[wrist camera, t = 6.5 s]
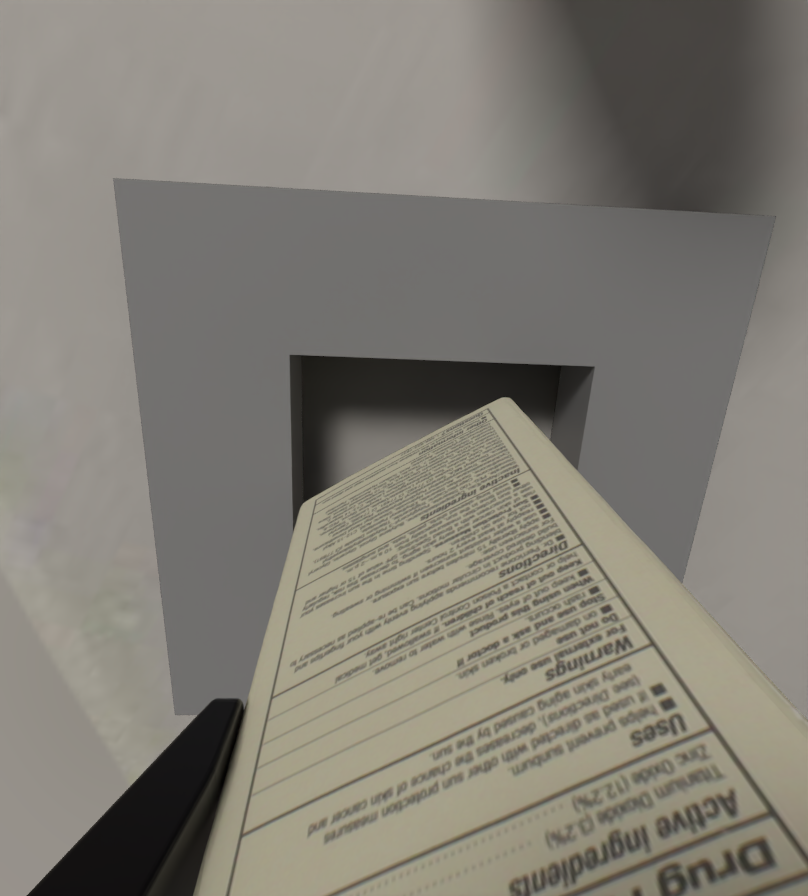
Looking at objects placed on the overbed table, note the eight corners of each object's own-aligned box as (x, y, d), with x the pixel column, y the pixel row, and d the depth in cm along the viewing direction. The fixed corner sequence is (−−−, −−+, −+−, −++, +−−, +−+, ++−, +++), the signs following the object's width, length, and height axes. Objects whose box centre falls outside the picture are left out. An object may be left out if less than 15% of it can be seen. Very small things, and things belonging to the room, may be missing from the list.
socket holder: (618, 660, 21) (648, 714, 19) (197, 658, 20) (174, 714, 18) (716, 218, 16) (775, 215, 13) (154, 186, 15) (113, 178, 12)
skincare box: (378, 618, 16) (380, 1498, 5) (293, 495, 15) (24, 1336, 4) (582, 519, 16) (1142, 1305, 4) (513, 378, 14) (1083, 989, 3)
